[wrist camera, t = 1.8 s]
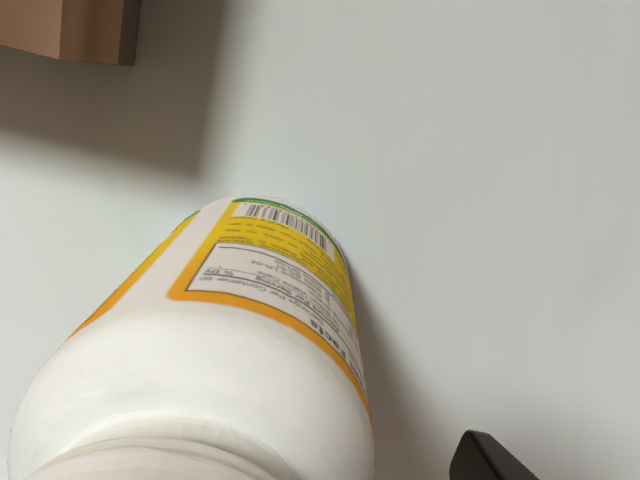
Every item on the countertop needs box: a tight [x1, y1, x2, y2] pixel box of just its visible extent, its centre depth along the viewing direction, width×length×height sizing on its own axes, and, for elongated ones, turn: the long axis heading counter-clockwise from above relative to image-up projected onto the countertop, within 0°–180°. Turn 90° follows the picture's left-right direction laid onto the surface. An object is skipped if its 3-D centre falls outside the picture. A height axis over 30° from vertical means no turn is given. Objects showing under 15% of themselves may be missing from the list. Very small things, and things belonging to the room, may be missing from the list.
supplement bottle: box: [7, 195, 375, 480], centre depth 9 cm, size 5×5×10 cm
